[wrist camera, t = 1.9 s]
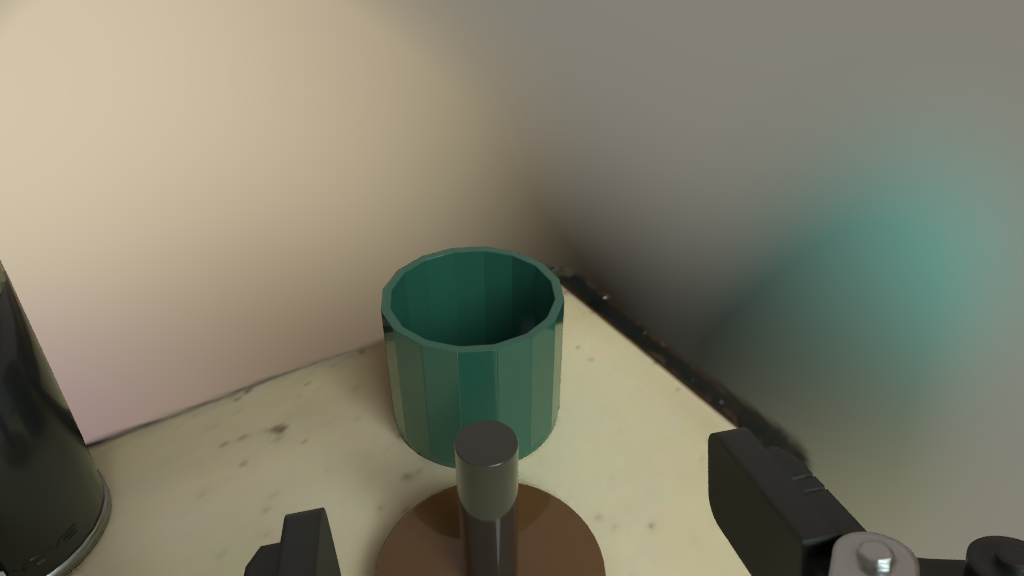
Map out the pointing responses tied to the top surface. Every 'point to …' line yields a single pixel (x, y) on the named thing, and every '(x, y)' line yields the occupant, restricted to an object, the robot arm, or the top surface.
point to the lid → (490, 521)
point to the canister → (473, 347)
